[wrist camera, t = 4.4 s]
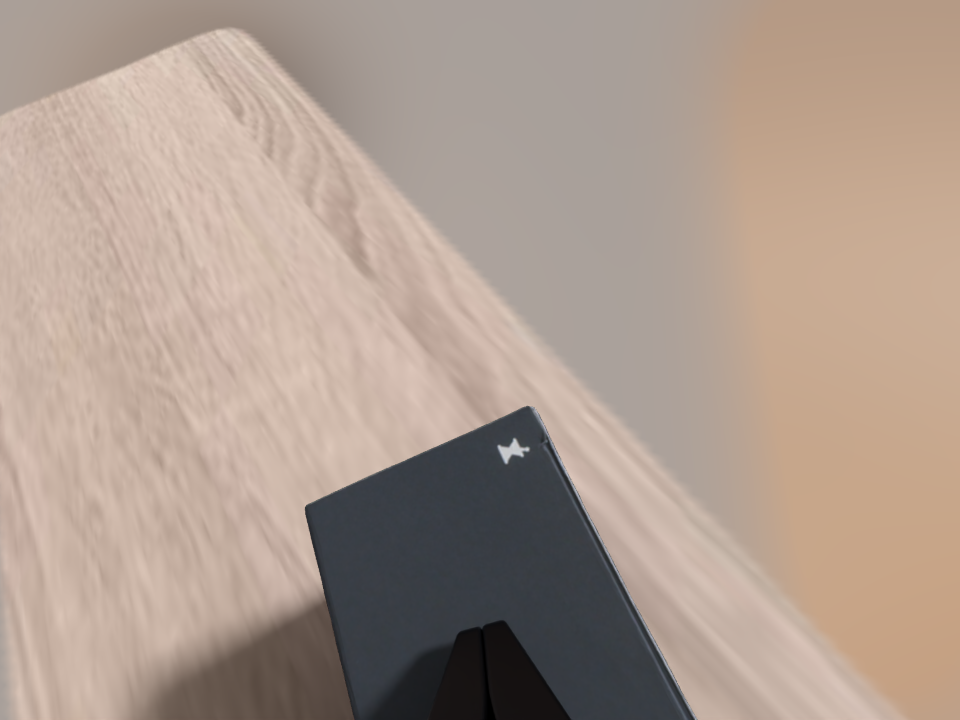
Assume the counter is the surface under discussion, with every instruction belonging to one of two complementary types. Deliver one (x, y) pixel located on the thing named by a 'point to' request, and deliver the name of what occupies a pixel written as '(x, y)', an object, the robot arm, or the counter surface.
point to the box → (482, 579)
